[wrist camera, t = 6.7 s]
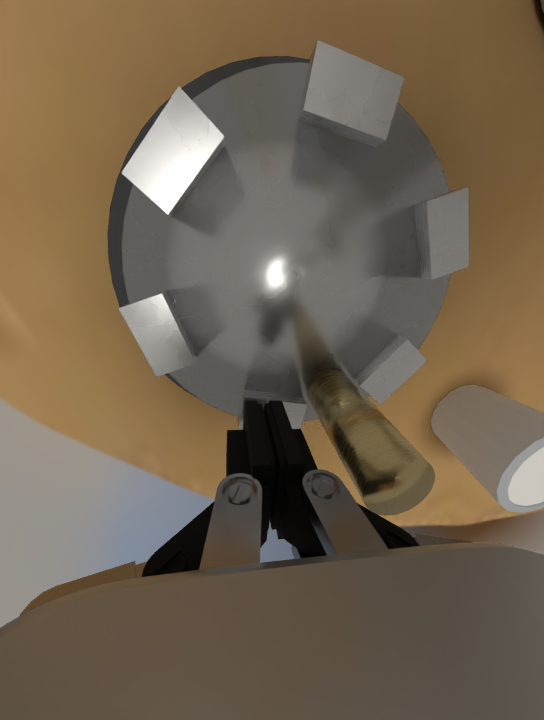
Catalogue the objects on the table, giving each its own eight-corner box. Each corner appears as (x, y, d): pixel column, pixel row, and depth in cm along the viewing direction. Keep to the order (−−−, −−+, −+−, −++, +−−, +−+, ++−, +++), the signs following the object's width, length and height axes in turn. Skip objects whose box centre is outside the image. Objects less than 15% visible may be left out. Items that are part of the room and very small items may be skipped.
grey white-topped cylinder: (440, 375, 22) (531, 428, 15) (511, 379, 23) (621, 430, 16) (413, 445, 24) (481, 516, 18) (478, 445, 25) (563, 512, 19)
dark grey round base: (427, 63, 14) (461, 31, 12) (410, 374, 21) (429, 387, 19) (62, 106, 12) (30, 78, 10) (176, 424, 20) (170, 444, 18)
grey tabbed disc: (76, 163, 12) (-332, -69, 3) (401, 54, 12) (834, -427, 3) (211, 429, 18) (198, 596, 9) (425, 352, 18) (604, 445, 9)
